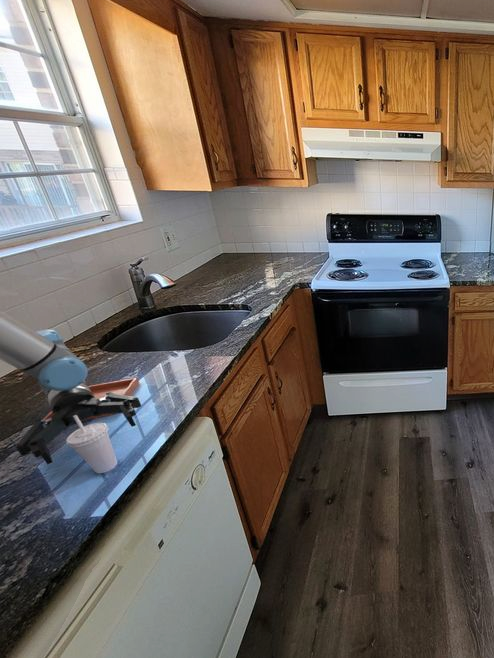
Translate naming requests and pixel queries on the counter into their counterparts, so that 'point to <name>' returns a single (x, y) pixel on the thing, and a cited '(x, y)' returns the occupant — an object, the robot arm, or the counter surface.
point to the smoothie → (93, 446)
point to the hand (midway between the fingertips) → (91, 438)
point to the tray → (115, 387)
